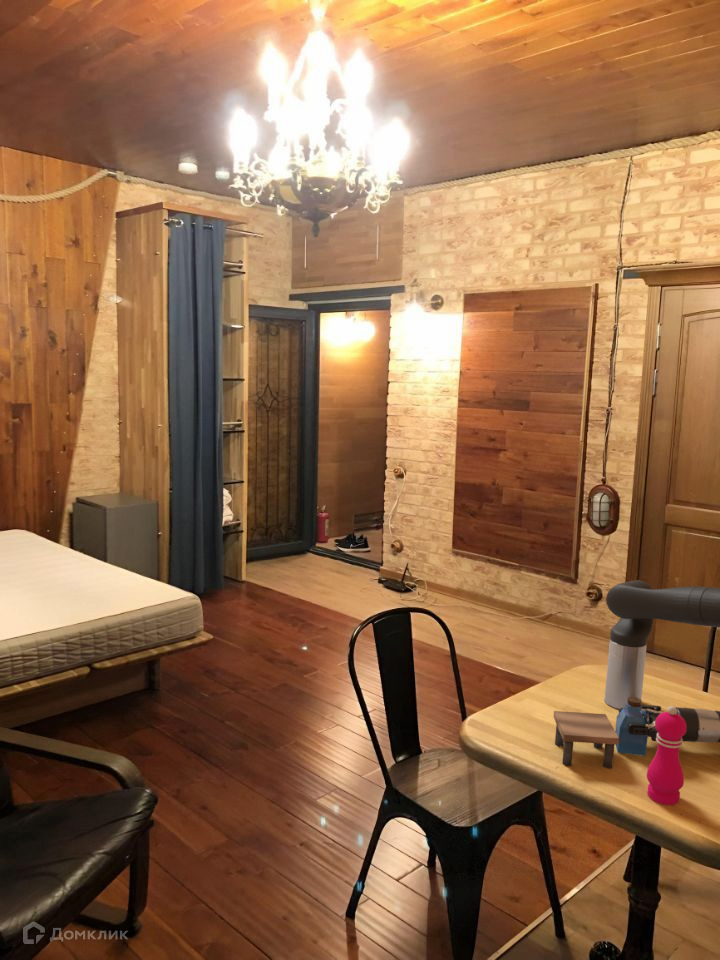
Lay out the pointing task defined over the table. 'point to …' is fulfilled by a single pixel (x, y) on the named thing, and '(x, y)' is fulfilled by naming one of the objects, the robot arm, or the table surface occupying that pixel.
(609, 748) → the brown legged piece
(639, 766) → the table surface
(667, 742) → the pepper mill
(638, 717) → the perfume bottle
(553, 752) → the table surface
